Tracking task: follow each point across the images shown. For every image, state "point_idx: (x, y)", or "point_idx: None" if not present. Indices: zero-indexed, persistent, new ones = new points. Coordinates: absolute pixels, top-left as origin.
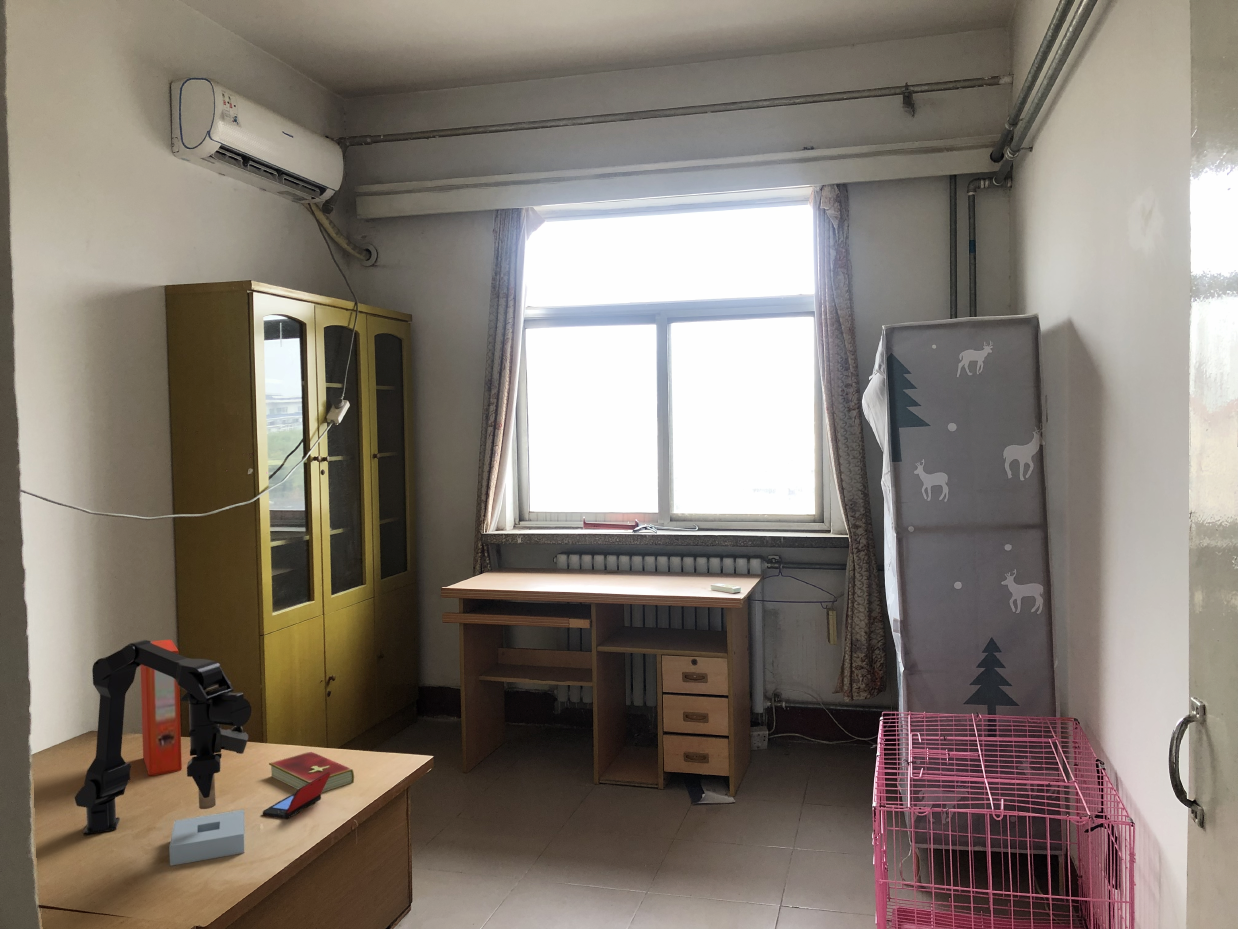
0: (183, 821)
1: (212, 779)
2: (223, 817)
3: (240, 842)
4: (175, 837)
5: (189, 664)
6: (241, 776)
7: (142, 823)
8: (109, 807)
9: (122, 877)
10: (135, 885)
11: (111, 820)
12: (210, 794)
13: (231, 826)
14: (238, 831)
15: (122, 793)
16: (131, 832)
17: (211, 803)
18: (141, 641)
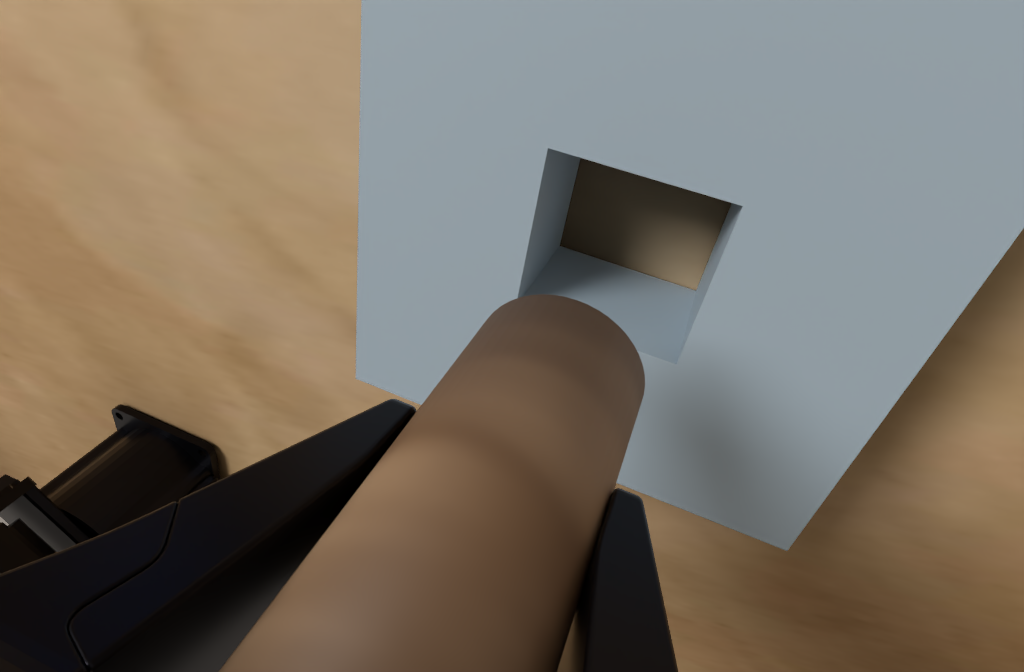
0: (394, 350)
1: (496, 660)
2: (471, 97)
3: None
4: (652, 477)
5: None
6: None
7: (172, 357)
8: (125, 519)
9: (735, 606)
10: (896, 621)
11: (169, 470)
12: (603, 487)
13: (770, 87)
14: (1018, 53)
15: (29, 490)
16: (252, 415)
17: (628, 390)
18: None
